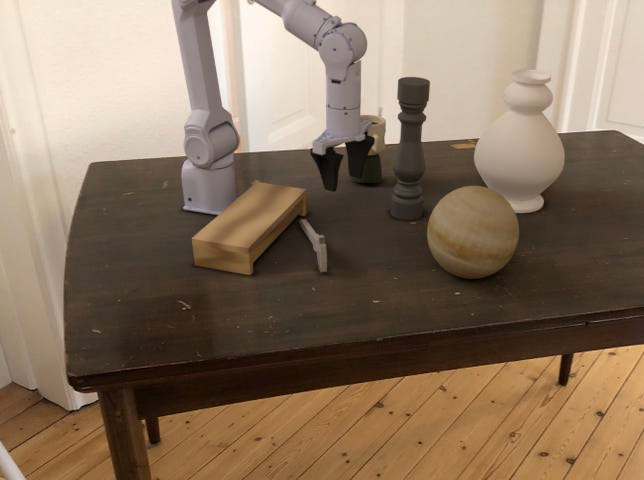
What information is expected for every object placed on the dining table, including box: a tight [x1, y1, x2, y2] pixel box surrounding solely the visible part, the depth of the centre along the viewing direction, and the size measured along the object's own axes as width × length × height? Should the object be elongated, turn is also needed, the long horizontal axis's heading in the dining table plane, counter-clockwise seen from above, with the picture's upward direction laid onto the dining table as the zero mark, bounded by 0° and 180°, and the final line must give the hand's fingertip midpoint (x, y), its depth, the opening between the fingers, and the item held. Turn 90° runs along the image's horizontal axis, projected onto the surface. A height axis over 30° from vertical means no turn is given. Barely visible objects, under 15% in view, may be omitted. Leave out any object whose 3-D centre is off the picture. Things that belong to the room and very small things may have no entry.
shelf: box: [191, 181, 308, 276], centre depth 131 cm, size 10×26×5 cm, turn 165°
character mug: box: [352, 114, 387, 185], centre depth 153 cm, size 11×7×13 cm, turn 24°
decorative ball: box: [426, 185, 520, 280], centre depth 121 cm, size 15×15×15 cm
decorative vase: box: [473, 68, 566, 214], centre depth 145 cm, size 18×18×25 cm
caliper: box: [299, 218, 328, 274], centre depth 129 cm, size 20×1×6 cm, turn 17°
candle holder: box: [390, 76, 431, 221], centre depth 137 cm, size 6×6×25 cm
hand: (343, 183), depth 130 cm, fingers open, 7 cm apart
